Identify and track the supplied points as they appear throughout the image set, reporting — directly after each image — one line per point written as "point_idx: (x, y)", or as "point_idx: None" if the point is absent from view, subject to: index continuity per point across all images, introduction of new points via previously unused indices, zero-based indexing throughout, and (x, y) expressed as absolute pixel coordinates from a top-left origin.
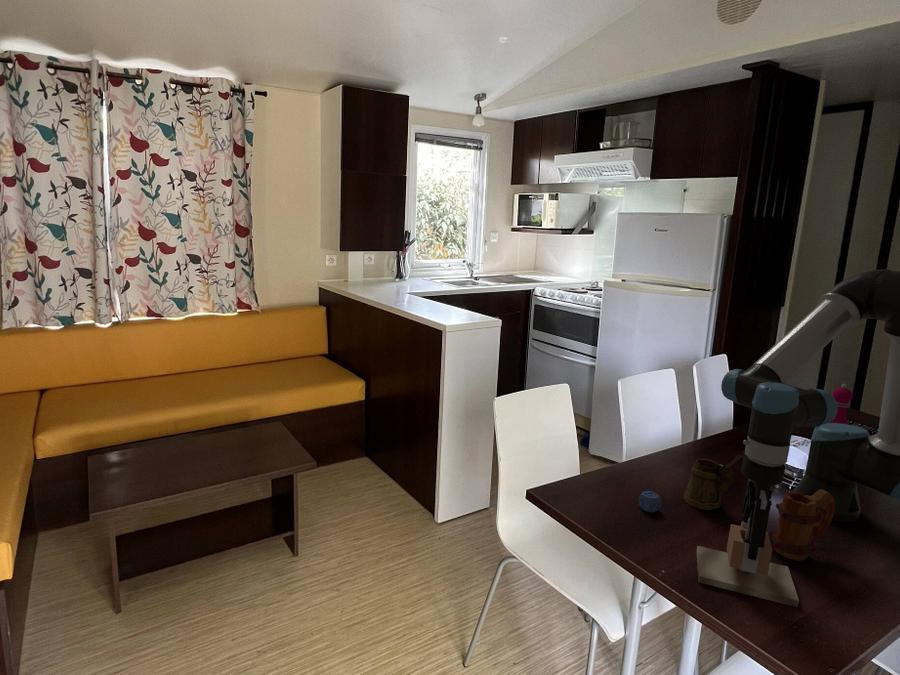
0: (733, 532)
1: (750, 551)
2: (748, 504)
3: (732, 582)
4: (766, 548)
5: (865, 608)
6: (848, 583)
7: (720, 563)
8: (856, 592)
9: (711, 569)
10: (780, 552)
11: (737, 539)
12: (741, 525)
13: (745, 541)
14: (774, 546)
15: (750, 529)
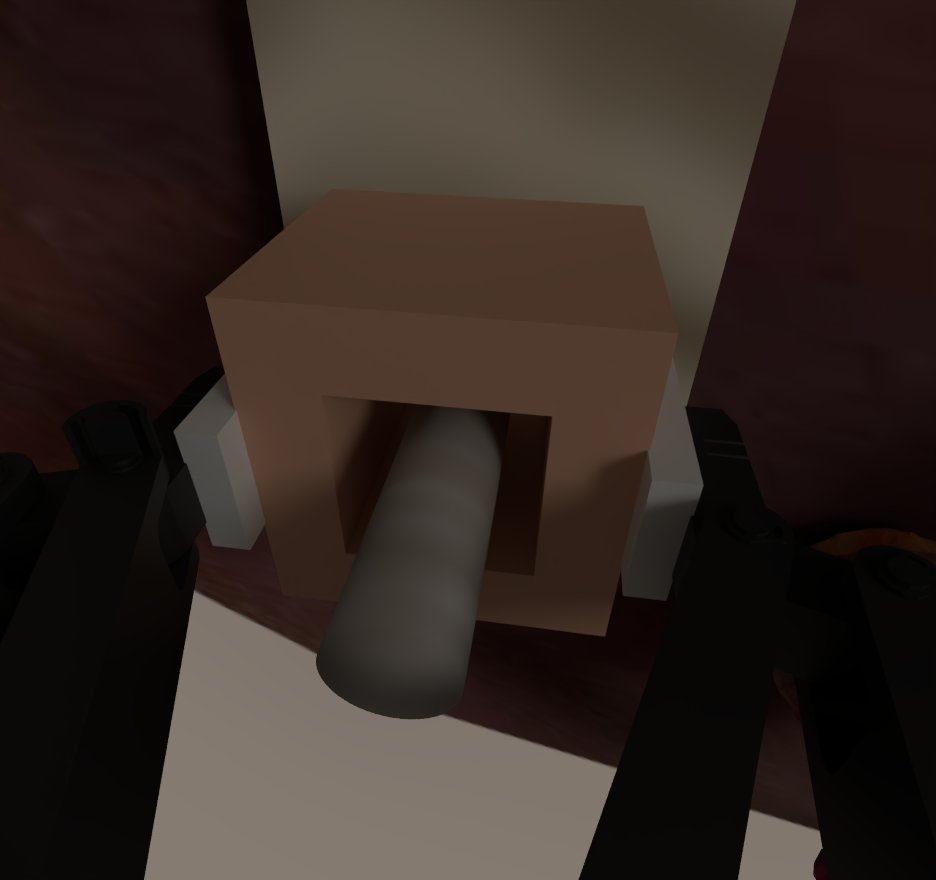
0: (419, 325)
1: (161, 419)
2: (592, 847)
3: (297, 190)
4: (276, 556)
5: (473, 679)
6: (634, 691)
7: (533, 125)
8: (574, 691)
9: (396, 24)
10: (823, 550)
11: (263, 342)
12: (664, 453)
13: (82, 427)
14: (893, 540)
15: (39, 579)
